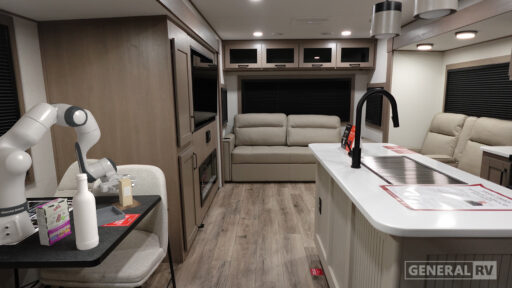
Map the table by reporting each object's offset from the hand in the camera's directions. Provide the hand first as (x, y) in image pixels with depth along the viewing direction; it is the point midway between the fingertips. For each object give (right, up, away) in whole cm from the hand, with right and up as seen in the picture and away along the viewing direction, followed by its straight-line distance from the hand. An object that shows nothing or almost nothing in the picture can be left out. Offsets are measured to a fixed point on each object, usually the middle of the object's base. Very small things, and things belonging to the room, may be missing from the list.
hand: (124, 187), depth 159 cm
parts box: (+1, -9, 0) cm, 9 cm away
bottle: (+4, -18, -41) cm, 45 cm away
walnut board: (+1, -10, +1) cm, 10 cm away
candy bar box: (-12, -17, -36) cm, 42 cm away
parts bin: (-3, -13, -17) cm, 21 cm away
